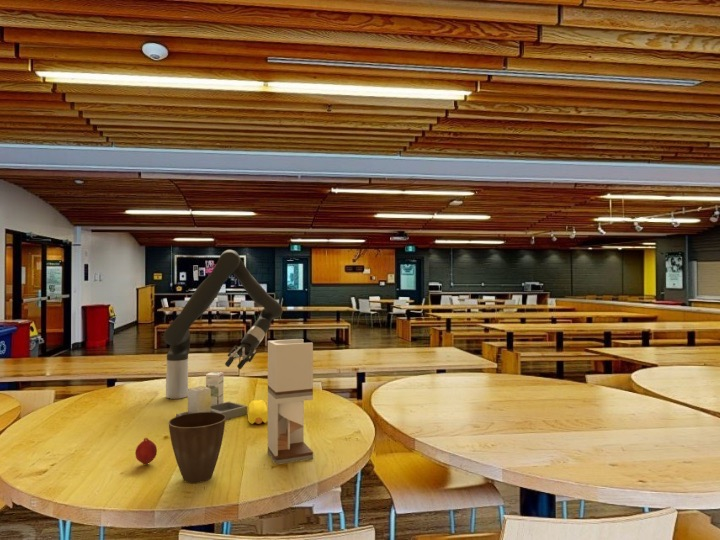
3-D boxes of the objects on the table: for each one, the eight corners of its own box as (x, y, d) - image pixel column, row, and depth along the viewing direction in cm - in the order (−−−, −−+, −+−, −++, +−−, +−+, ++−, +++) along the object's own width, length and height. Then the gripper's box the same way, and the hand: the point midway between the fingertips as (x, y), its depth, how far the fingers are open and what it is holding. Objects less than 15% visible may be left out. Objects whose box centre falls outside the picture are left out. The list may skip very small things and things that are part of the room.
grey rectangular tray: (176, 422, 183) (176, 414, 183) (228, 408, 201) (228, 401, 201) (194, 428, 175) (194, 420, 175) (247, 413, 194) (247, 406, 194)
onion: (139, 461, 144) (139, 434, 144) (159, 460, 144) (159, 433, 145) (132, 468, 138) (132, 440, 138) (152, 468, 139) (153, 440, 139)
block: (187, 420, 183) (187, 388, 183) (201, 416, 188) (201, 386, 188) (196, 423, 179) (196, 391, 180) (210, 419, 184) (210, 388, 184)
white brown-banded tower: (275, 464, 141) (275, 345, 142) (267, 452, 151) (267, 340, 151) (312, 458, 146) (312, 342, 146) (302, 447, 155) (302, 338, 156)
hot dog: (248, 427, 177) (269, 425, 179) (248, 409, 177) (269, 407, 179) (247, 414, 195) (266, 412, 196) (247, 397, 195) (266, 396, 197)
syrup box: (223, 405, 207) (224, 371, 207) (218, 409, 201) (218, 374, 201) (211, 405, 207) (211, 371, 208) (205, 408, 201) (205, 374, 202)
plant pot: (155, 484, 128) (155, 423, 128) (193, 464, 142) (194, 409, 142) (201, 493, 122) (201, 430, 123) (236, 471, 136) (236, 414, 137)
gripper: (238, 331, 223) (217, 360, 214) (258, 334, 214) (237, 363, 205) (247, 342, 227) (227, 370, 218) (268, 344, 218) (247, 374, 209)
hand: (232, 366), depth 212 cm, fingers open, 8 cm apart
